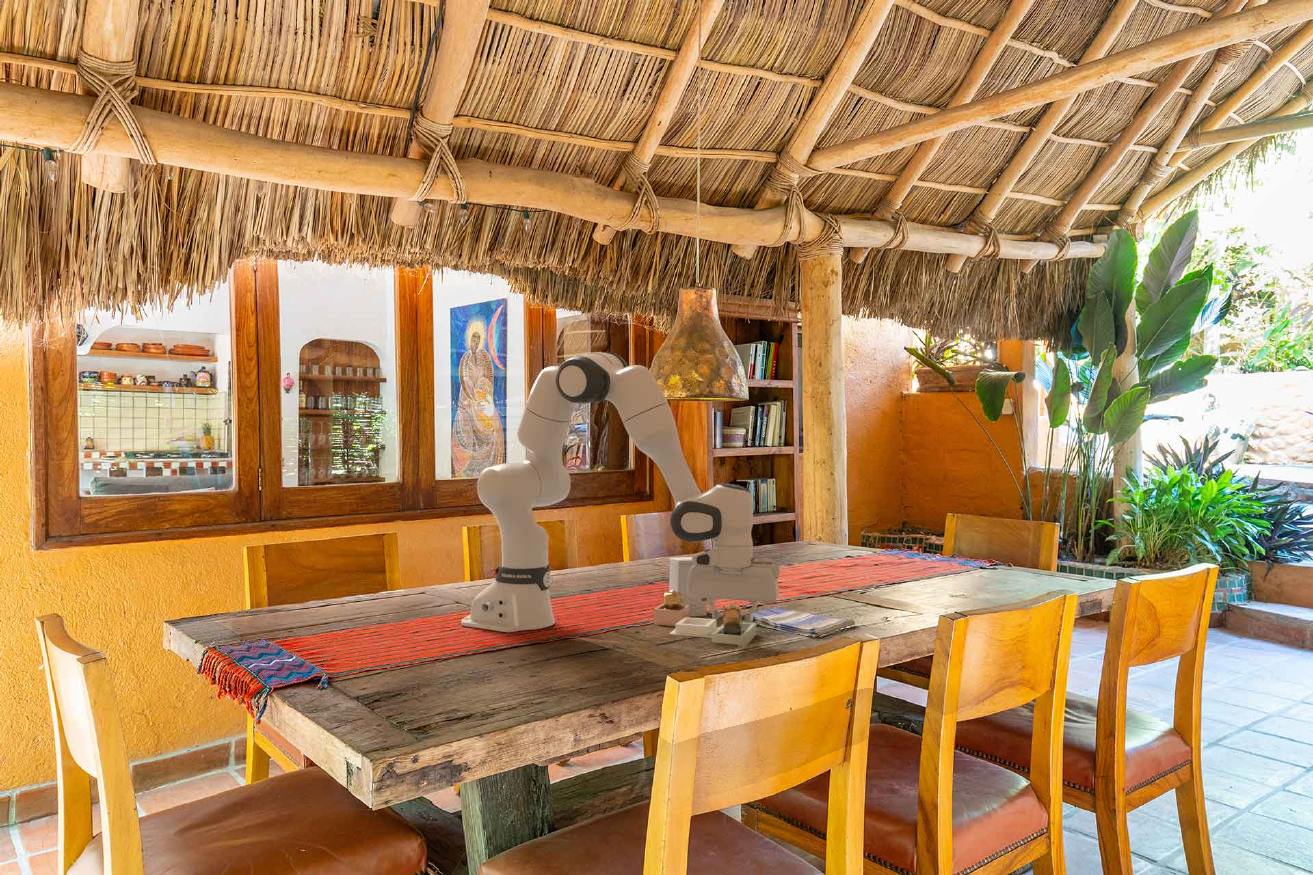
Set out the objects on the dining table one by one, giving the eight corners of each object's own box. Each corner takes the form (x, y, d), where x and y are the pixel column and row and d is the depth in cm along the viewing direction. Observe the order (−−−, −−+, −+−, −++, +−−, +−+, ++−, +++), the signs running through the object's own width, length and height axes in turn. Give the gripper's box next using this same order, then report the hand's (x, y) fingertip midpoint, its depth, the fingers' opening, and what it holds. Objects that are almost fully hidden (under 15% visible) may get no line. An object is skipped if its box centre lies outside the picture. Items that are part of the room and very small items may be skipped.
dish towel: (816, 641, 195) (816, 629, 195) (736, 624, 212) (736, 612, 212) (858, 629, 207) (858, 617, 207) (779, 613, 224) (779, 602, 224)
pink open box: (653, 627, 206) (653, 609, 206) (662, 621, 212) (662, 603, 212) (681, 629, 203) (681, 611, 203) (690, 623, 210) (690, 605, 210)
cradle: (669, 637, 196) (669, 624, 196) (681, 628, 204) (681, 616, 204) (712, 641, 193) (712, 627, 193) (722, 631, 201) (722, 619, 201)
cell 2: (721, 640, 190) (721, 606, 190) (725, 636, 194) (726, 602, 194) (739, 642, 189) (739, 607, 189) (743, 638, 193) (743, 604, 193)
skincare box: (677, 621, 213) (677, 560, 212) (667, 616, 218) (667, 557, 218) (708, 618, 216) (708, 558, 216) (697, 613, 221) (697, 555, 221)
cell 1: (661, 622, 207) (661, 591, 207) (667, 619, 210) (668, 588, 210) (676, 624, 205) (676, 592, 205) (683, 621, 209) (683, 589, 209)
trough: (712, 645, 189) (712, 633, 189) (726, 632, 201) (726, 621, 201) (743, 648, 186) (743, 636, 186) (756, 634, 199) (756, 623, 199)
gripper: (782, 557, 191) (781, 619, 191) (692, 552, 198) (692, 613, 198) (776, 561, 185) (776, 626, 185) (684, 556, 192) (684, 618, 192)
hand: (732, 619), depth 192 cm, fingers open, 6 cm apart
